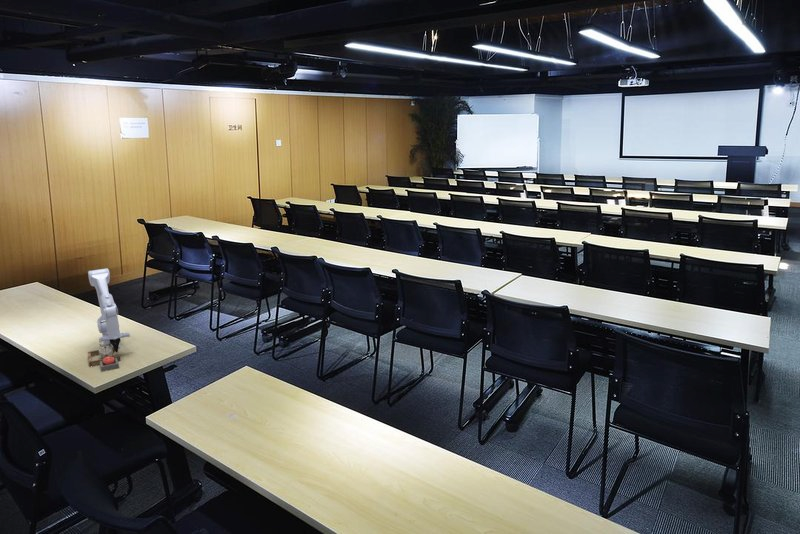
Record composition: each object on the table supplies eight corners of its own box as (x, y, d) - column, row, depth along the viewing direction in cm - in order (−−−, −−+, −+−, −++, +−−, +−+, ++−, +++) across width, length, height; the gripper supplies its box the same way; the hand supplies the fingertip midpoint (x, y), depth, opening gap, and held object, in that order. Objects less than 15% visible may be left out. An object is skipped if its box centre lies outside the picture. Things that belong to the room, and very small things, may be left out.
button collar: (100, 365, 281) (99, 361, 281) (117, 362, 285) (117, 357, 285) (101, 371, 275) (100, 367, 274) (119, 367, 279) (118, 363, 278)
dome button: (103, 363, 280) (102, 355, 279) (114, 361, 283) (113, 353, 282) (104, 366, 276) (102, 359, 275) (115, 364, 279) (113, 357, 278)
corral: (88, 356, 293) (87, 351, 292) (117, 350, 300) (117, 346, 299) (89, 366, 280) (89, 362, 279) (120, 360, 287) (119, 356, 286)
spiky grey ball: (109, 365, 290) (107, 356, 283) (94, 360, 289) (91, 350, 282) (119, 352, 296) (117, 342, 289) (104, 346, 296) (102, 336, 288)
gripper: (98, 333, 282) (102, 357, 285) (128, 327, 289) (132, 351, 293) (97, 328, 288) (101, 352, 291) (127, 323, 295) (131, 346, 298)
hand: (116, 351), depth 292 cm, fingers closed
